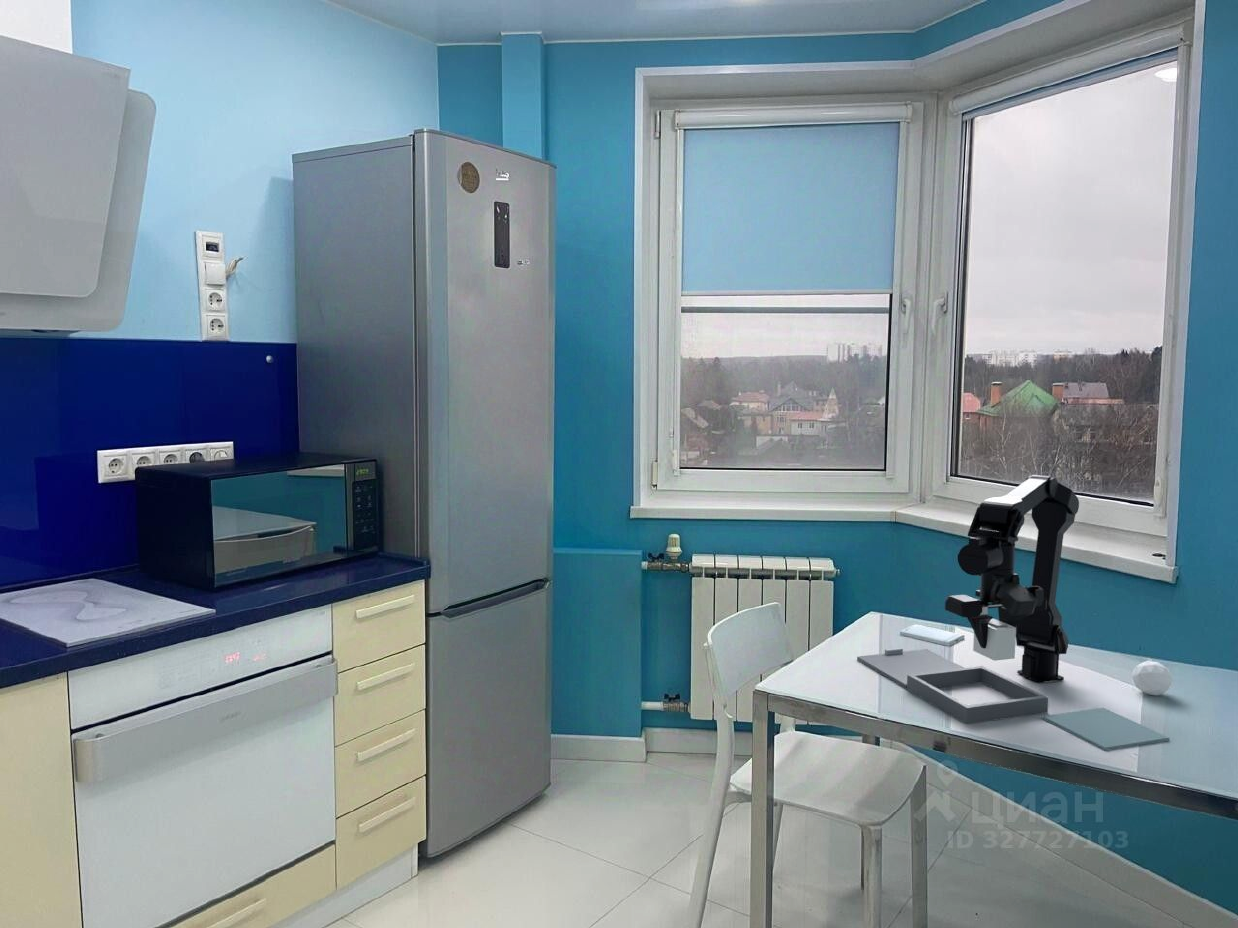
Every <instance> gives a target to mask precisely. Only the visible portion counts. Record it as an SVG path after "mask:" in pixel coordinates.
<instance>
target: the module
mask: <svg viewBox="0 0 1238 928" xmlns="http://www.w3.org/2000/svg"><path fill="white" fill-rule="evenodd" d="M972 650H973V652H975V653H977V654H979V655H982V656H984V657H985V658H988V659H990V660H992V661H996V662H997V661H1002V660H1003V661H1004V660H1012V659H1015V658H1016V656H1015V655H1016V627H1013V626H1011V625H1008V624H1006V623H1003V622H1001V621H999V619H997V618H996V619H995V618H992V619H991V620H990V621H989V623H988V634H987V645H986V648H982V647H981V646H980V644H979V642H978V640H977V637H976V635H975V633H974V632H973V648H972Z"/></svg>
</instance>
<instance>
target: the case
mask: <svg viewBox="0 0 1238 928" xmlns="http://www.w3.org/2000/svg"><path fill="white" fill-rule="evenodd" d="M856 658H857V659H856V661H858V662H859V663H862V664H863V665H864V666H866V667H868V668H870V669H872V670H873V671H876V672H877V673H879V674H880V675H882V676H884V677H886V678H887V679H889V680H890V681H893V682H894V683H896V685H897V684H898V685H899V686H901V687H903V688H904V689H907V691H909V692H911V693H913V694H915V695H916V696H918V697H919V698H922V699H923V700H925V701H927V702H928V703H930V704H931V705H933V706H935V707H937V708H939V709H940V710H941V711H944V712H945V713H947V714H949V715H951V716H952V717H954V718H956V719H957V720H959V721H960V722H962V723H964V724H967V725H968V724H975V723H976V724H977V723H981V722H982V723H983V722H989V721H998V720H1004V719H1011V718H1018V717H1025V716H1027V717H1028V716H1032V715H1039V714H1040V715H1041V714H1047V713H1048V712H1049V711H1048V708H1049V706H1048V705H1049V697H1048V696H1046V695H1044V694H1042V693H1041V692H1038V691H1036V690H1034V689H1032V688H1030V687H1028V686H1026V685H1023V684H1021V683H1020V682H1017V681H1015V680H1013V679H1011V678H1009V677H1006V676H1004V675H1003V674H1000V673H998V672H996V671H994V670H992V669H990V668H987V667H986V666H983V665H977V666H972V667H964V666H962V665H960V664H958V663H955V662H954V661H952V660H950V659H948V658H946V657H944V656H941V655H939V654H937V652H934V651H932V650H930V649H927V648H925V649H924V648H923V649H916V650H914V649H913V650H908V651H904V649H903V648H902V647H895V648H893V647H892V648H885V649H884V653H880V654H879V653H878V654H868V655H859V656H856ZM977 683H982V684H985V685H986V686H988V687H990V688H992V689H994V690H995V691H998V692H999V693H1001V694H1004V695H1006V696H1008V697H1010V698H1012V699H1007V700H1000V701H999V700H998V701H992V702H990V701H989V702H983V703H977V704H967V703H964V702H963V701H961V700H959V699H957V698H955V697H954V696H952V695H950V694H948V693H946V692H945V691H943V690H941V689H939V688H946V687H951V686H961V685H968V684H977Z"/></svg>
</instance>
